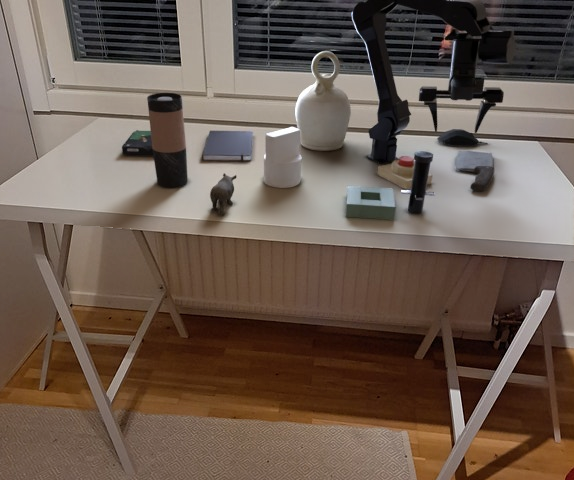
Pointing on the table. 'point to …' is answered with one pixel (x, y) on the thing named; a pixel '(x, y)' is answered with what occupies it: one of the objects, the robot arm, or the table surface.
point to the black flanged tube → (419, 182)
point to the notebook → (229, 146)
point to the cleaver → (476, 167)
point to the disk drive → (138, 144)
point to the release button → (406, 161)
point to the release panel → (399, 174)
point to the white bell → (323, 110)
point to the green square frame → (370, 202)
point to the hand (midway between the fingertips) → (455, 132)
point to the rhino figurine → (222, 193)
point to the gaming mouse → (458, 138)
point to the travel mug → (168, 139)
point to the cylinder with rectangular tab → (282, 158)
